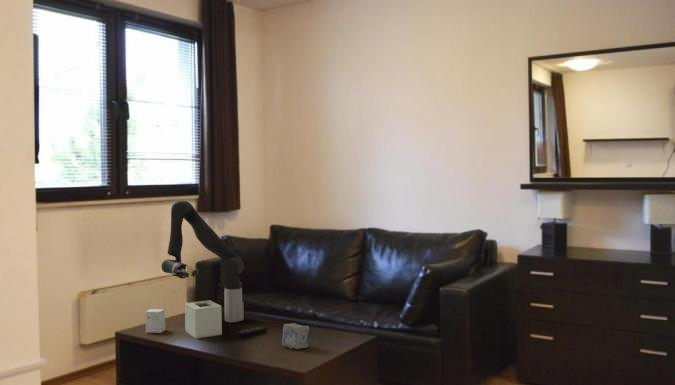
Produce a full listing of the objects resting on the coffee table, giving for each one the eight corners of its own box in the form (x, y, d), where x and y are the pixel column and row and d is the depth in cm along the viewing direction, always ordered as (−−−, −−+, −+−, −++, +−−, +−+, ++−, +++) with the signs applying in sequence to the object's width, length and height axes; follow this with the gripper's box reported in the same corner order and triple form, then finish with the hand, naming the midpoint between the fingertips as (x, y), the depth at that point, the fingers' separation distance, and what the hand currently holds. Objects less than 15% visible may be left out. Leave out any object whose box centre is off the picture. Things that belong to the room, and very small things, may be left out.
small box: (165, 330, 301) (165, 309, 301) (161, 333, 295) (160, 311, 295) (150, 329, 302) (149, 308, 301) (145, 332, 296) (145, 311, 296)
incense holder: (309, 347, 270) (309, 324, 269) (297, 351, 263) (297, 328, 263) (293, 343, 276) (293, 321, 276) (281, 347, 269) (281, 324, 269)
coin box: (210, 327, 305) (210, 300, 305) (221, 334, 291) (221, 306, 291) (185, 331, 298) (184, 303, 298) (195, 338, 285) (195, 309, 284)
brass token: (190, 285, 303) (190, 265, 302) (192, 286, 300) (192, 266, 300) (185, 285, 301) (185, 265, 301) (187, 286, 299) (187, 266, 298)
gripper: (167, 264, 309) (176, 268, 294) (193, 261, 316) (204, 266, 301) (167, 278, 309) (177, 283, 294) (193, 276, 316) (204, 281, 302)
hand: (190, 274), depth 298 cm, fingers closed on brass token, 2 cm apart
